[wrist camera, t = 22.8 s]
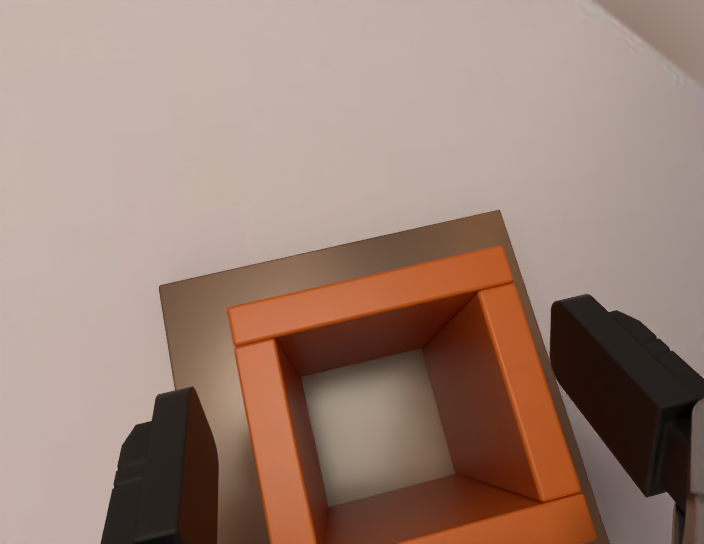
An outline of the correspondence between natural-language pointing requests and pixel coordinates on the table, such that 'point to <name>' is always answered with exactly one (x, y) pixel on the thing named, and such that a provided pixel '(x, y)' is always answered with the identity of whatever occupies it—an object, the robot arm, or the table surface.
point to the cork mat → (335, 376)
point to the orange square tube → (451, 398)
